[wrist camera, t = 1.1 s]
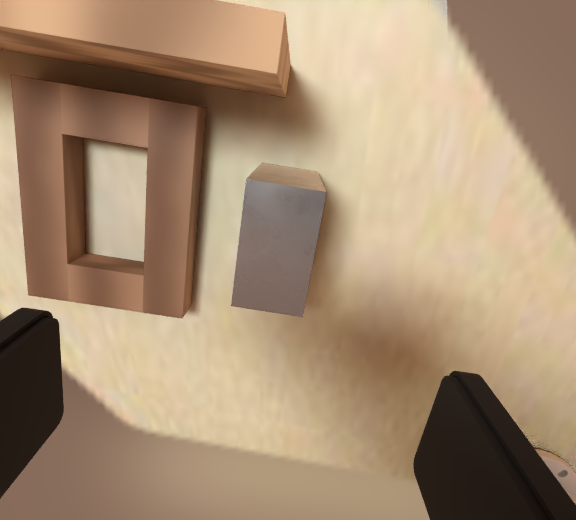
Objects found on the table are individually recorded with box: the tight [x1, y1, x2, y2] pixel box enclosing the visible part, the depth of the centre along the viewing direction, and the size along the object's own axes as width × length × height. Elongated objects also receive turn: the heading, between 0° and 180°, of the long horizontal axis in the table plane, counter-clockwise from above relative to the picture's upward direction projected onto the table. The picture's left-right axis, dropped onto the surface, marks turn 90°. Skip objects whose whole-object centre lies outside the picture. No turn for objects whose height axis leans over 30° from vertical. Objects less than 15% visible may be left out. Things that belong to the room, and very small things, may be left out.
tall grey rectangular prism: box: [231, 163, 327, 317], centre depth 24 cm, size 4×7×9 cm, turn 171°
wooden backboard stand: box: [0, 0, 291, 318], centre depth 22 cm, size 22×18×12 cm
